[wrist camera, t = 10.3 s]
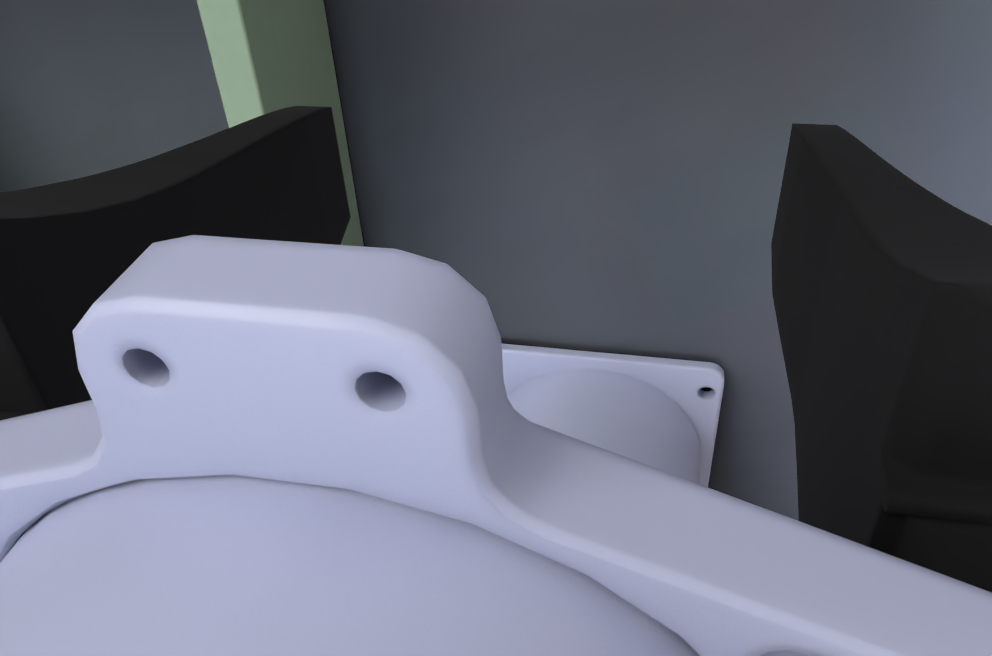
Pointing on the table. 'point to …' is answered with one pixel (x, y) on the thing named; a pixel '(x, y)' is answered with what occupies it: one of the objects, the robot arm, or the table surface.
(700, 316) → the table surface
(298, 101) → the basin
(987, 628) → the robot arm
